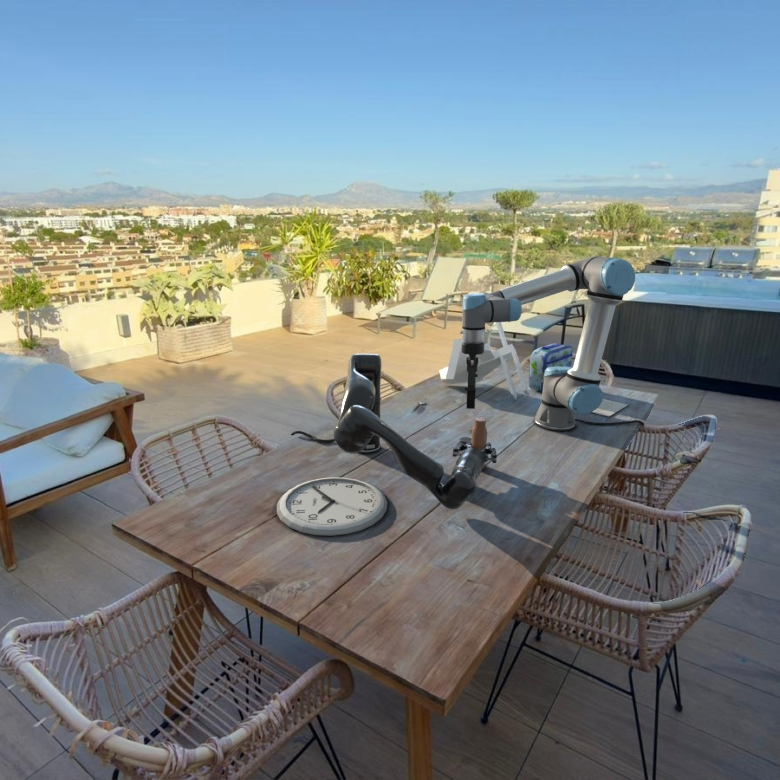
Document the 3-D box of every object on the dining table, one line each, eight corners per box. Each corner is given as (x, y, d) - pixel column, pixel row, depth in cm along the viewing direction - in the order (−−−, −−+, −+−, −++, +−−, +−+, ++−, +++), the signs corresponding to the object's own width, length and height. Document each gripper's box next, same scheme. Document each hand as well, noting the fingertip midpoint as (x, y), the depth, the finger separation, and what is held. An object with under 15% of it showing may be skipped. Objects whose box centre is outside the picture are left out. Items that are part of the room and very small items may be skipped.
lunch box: (544, 395, 239) (549, 351, 233) (524, 390, 247) (528, 347, 240) (571, 384, 257) (577, 343, 251) (552, 380, 264) (556, 339, 258)
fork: (410, 411, 216) (410, 407, 215) (421, 400, 230) (421, 396, 229) (416, 412, 215) (416, 408, 214) (427, 401, 229) (427, 396, 228)
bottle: (484, 463, 170) (487, 417, 165) (485, 470, 165) (488, 422, 160) (469, 462, 170) (472, 416, 165) (469, 469, 166) (473, 421, 161)
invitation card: (608, 416, 214) (573, 407, 224) (608, 416, 214) (573, 408, 224) (628, 404, 229) (594, 396, 238) (628, 405, 229) (594, 397, 238)
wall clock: (392, 527, 129) (268, 531, 127) (391, 533, 130) (269, 537, 127) (383, 473, 158) (282, 475, 155) (383, 478, 158) (282, 480, 156)
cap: (458, 446, 183) (458, 440, 182) (461, 441, 187) (461, 436, 187) (471, 448, 182) (471, 443, 181) (474, 443, 186) (474, 438, 185)
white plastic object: (461, 429, 252) (437, 405, 227) (444, 352, 274) (420, 323, 250) (535, 404, 240) (518, 377, 215) (510, 326, 262) (492, 293, 237)
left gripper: (445, 472, 156) (457, 451, 171) (493, 481, 152) (501, 458, 167) (446, 449, 154) (459, 429, 169) (495, 457, 149) (503, 436, 165)
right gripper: (462, 333, 185) (461, 390, 192) (460, 349, 162) (458, 413, 169) (484, 333, 184) (481, 391, 191) (484, 350, 161) (482, 414, 167)
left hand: (480, 443), depth 168 cm, fingers closed on bottle, 4 cm apart
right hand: (470, 401), depth 180 cm, fingers open, 13 cm apart
